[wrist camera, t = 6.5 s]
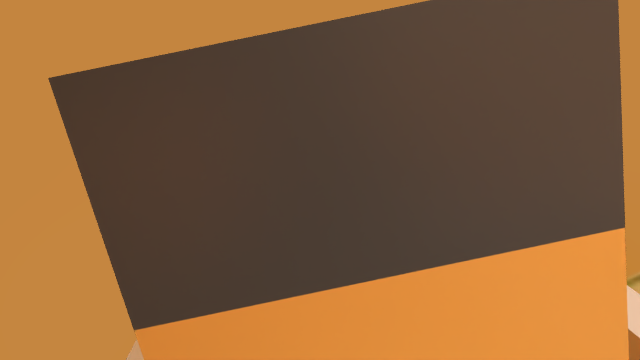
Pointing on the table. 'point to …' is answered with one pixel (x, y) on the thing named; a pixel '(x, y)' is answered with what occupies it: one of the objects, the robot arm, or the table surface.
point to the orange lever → (368, 187)
